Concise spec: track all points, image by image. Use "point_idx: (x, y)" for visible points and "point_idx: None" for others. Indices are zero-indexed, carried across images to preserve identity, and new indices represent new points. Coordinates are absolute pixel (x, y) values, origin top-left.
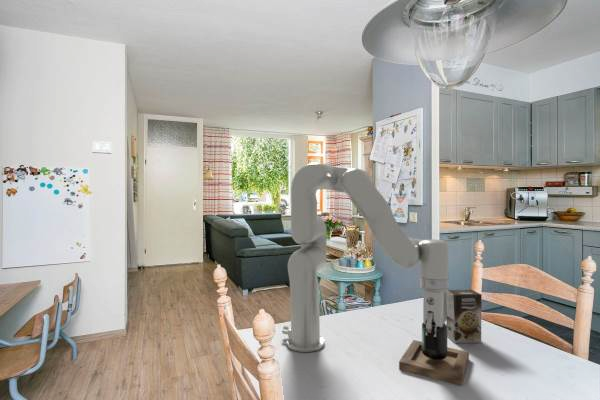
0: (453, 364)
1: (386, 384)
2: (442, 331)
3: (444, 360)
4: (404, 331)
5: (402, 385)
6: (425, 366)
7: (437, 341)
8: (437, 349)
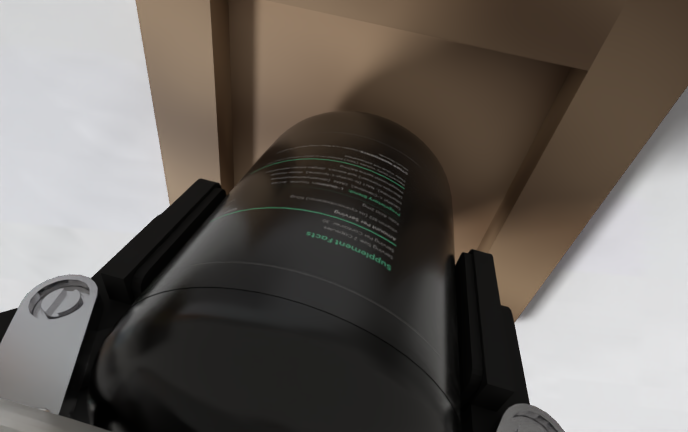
0: (378, 38)
1: (648, 379)
2: (429, 396)
3: (333, 107)
4: (67, 269)
5: (663, 330)
6: (534, 257)
7: (502, 333)
8: (493, 262)
